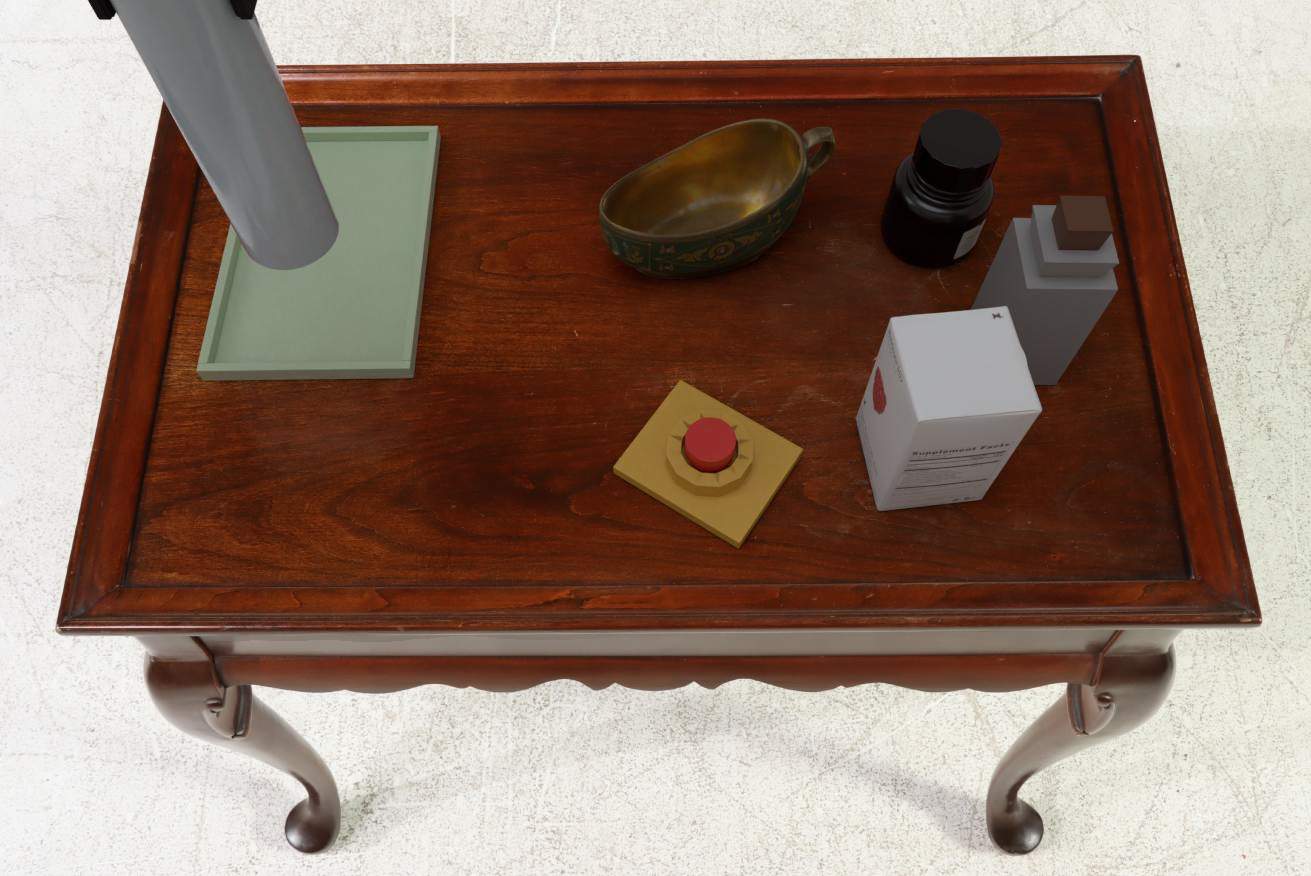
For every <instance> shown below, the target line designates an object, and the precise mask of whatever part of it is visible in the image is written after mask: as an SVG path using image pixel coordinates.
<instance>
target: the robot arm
mask: <svg viewBox="0 0 1311 876" xmlns="http://www.w3.org/2000/svg"><path fill="white" fill-rule="evenodd" d="M87 2H88V3H89V5H90V7H91V9H92V11H93V12H94V14H95V16H96V17H97V19H98V20H100V21H111V20H112V19H113V18H115V16H116V15H117V13H116V11H115V10H114V8H113V6H112V4H111V2H110V0H87ZM230 2H231V5H232V7H233V9H234V12H235V14H236V16H237V17H240V19H241V20H252V18H253V15H254V12H255V11H256V7H257V4H258V0H230Z"/></svg>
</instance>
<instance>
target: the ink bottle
mask: <svg viewBox="0 0 1311 876" xmlns="http://www.w3.org/2000/svg"><path fill="white" fill-rule="evenodd" d="M1002 146H1003V140H1002V137H1001V134H1000V130H999V128H997V127H996V125H994V123H993V122H992V120H990V119H989V118H987V117H985V116H983V115H981V114H980V113H979V112H976V111H973V110H968V109H964V108H946V109H942V110H940V111H938V112H935V113H931V115H930V116H929V117H928V118H927V119H925V120H924V121H923V122H922V123H921V128H920V131H919V134H918V138H917V141H916V144H915V146H914V147H915V148H914V150H913V152H910V154H908V155H907V156H905V158H904V159H902V160H901V161H900V163H898V166H897V167H896V169H895V171H894V174H893V177H892V180H891V184H890V187H889V191H888V195H887V197H886V201H885V203H884V204H885V205H884V208H883V211H882V215H881V219H880V220H881V221H880V225H881V226H880V228H881V233H882V237H883V238H884V239H883V240H884V241H885V243H886V245H887V246H888V247H889V249H890V251H892V252H893V254H895V255H896V256H898V257H899V258H901V259H903V260H905V261H906V262H908V263H911V264H914V265H919V266H923V267H945V266H949V265H953V264H956V263H958V262H960V261H962V260H963V259H965V258H966V257H967V256H968V255H969V254H970V253H971V252H972V250H973V248H974V247H975V245H976V243H977V241H978V238H979V236H980V233H981V232H982V229H983V227H984V225H985V223H986V220H987V218H988V216H989V212H990V210H991V208H992V205H993V203H994V197H995V185H994V181H993V178H992V173H993V171H994V168H995V166H996V164H997V161H998V159H999V157H1000V155H1001V148H1002Z"/></svg>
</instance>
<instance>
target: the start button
mask: <svg viewBox="0 0 1311 876" xmlns="http://www.w3.org/2000/svg"><path fill="white" fill-rule="evenodd" d="M735 446H736V435H735V433H734V431H733V429H732V428H731V426H730V425H729V424H728V423H726V422H725V421H723V420H721V419H718V418H712V417H708V418H702V419H699V420H697V421H696V422H694V423H693V424H692V425H691V426H690V427H689V428H688V430H687V432H686V435H685V455H686V457H687V459H688V461H689V462H690V463H691V464H692V465H693V466H694V467H696V468H697V469H700V470H702V471H708V472H713V471H718V470H721V469H723V468H725V467H726V466H727V465H728V464H729V463H730V462H731V461H732V459H733V457H734V453H735Z"/></svg>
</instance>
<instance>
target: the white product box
mask: <svg viewBox="0 0 1311 876" xmlns="http://www.w3.org/2000/svg"><path fill="white" fill-rule="evenodd" d="M877 353H878V354H877V357H876V359H875V362H874V365H873V367H872V371H871V374H870V376H869V379H868V382H867V385H866V388H865V391H864V394H863V396H862V399H861V402H860V405H859V408H858V411H857V414H856V416H855V422H856V426H857V431H858V435H859V439H860V443H861V448H862V453H863V455H864V456H863V457H864V460H865V465H866V470H867V473H868V477H869V482H870V486H871V490H872V495H873V499H874V503H875V508H876V510H877V511H879V512H885V511H894V510H904V509H913V508H920V507H930V506H938V505H939V506H940V505H947V504H954V503H955V504H956V503H965V502H973V501H981V500H983V499H984V496H985V495H986V494H987V492H988V491H989V489H990V488H991V486H992V485H993V483H994V482H995V480H996V479H997V477H998V476H999V474H1000V473H1001V471H1002V469H1004V467H1005V466H1006V464H1007V462H1008V461H1009V459H1010V458H1011V457H1012V455H1013V453H1014V452H1015V451H1016V450H1017V447H1018V446H1019V444H1020V443H1021V441H1022V440H1023V439H1024V438H1025V436H1026V435H1027V433H1028V431H1029V430H1030V428H1031V427H1032V425H1033V424H1034V422H1035V421H1036V420H1037V418H1038V417H1039V415H1040V414H1041V413H1042V412H1043V407H1042V404H1041V401H1040V399H1039V396H1038V392H1037V390H1036V387H1035V386H1036V385H1034V383H1033V381H1032V378H1031V375H1030V372H1029V369H1028V366H1027V359H1026V356H1025V353H1024V351H1023V349H1022V347H1021V345H1020V342H1019V339H1018V336H1017V333H1016V330H1015V327H1014V324H1013V321H1012V318H1011V315H1010V312H1009V309H1008V307H1007V306H1003V307H994V308H985V309H976V310H971V309H968V310H956V311H947V312H935V313H932V312H931V313H922V314H921V313H919V314H910V315H901V316H892V317H890V319H889V322H888V325H887V328H886V330H885V333H884V337H883V339H882V341H881V344H880V347H879V350H878V352H877Z"/></svg>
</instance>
